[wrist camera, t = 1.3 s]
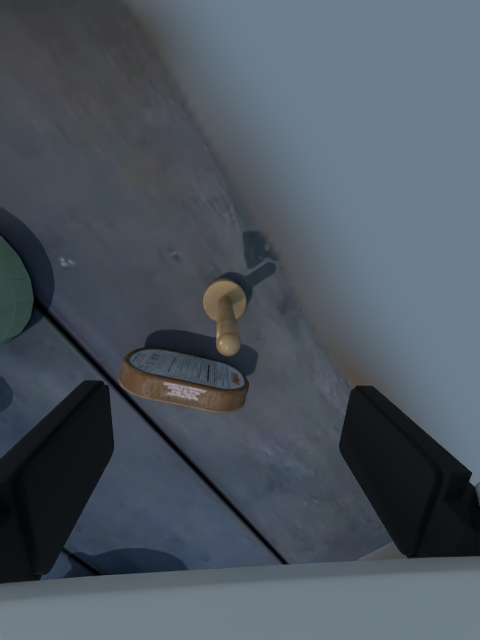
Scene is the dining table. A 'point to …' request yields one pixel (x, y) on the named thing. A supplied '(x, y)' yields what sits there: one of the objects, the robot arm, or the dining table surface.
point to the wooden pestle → (225, 312)
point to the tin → (183, 380)
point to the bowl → (13, 293)
